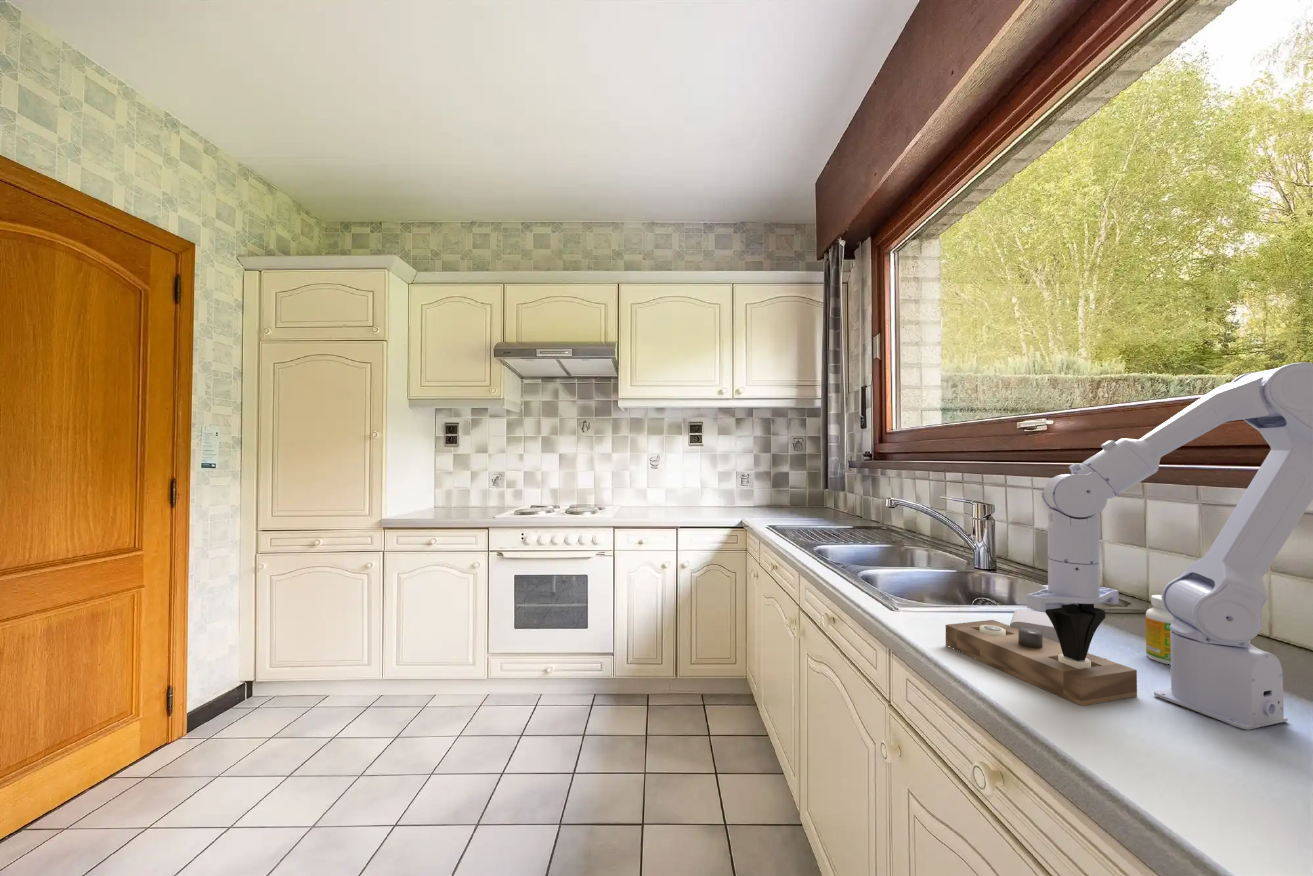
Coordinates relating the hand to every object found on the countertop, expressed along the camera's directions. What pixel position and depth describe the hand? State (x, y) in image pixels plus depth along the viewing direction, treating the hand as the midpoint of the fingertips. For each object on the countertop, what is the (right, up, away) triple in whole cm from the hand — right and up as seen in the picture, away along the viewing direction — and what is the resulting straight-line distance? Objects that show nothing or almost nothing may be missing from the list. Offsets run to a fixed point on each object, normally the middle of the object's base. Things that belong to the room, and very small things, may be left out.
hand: (1073, 658), depth 75 cm
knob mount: (-2, -4, +6) cm, 8 cm away
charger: (+9, -5, +18) cm, 21 cm away
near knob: (0, -3, 0) cm, 3 cm away
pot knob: (-2, -1, +6) cm, 7 cm away
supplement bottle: (+22, -4, +9) cm, 25 cm away
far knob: (-4, -3, +12) cm, 13 cm away
